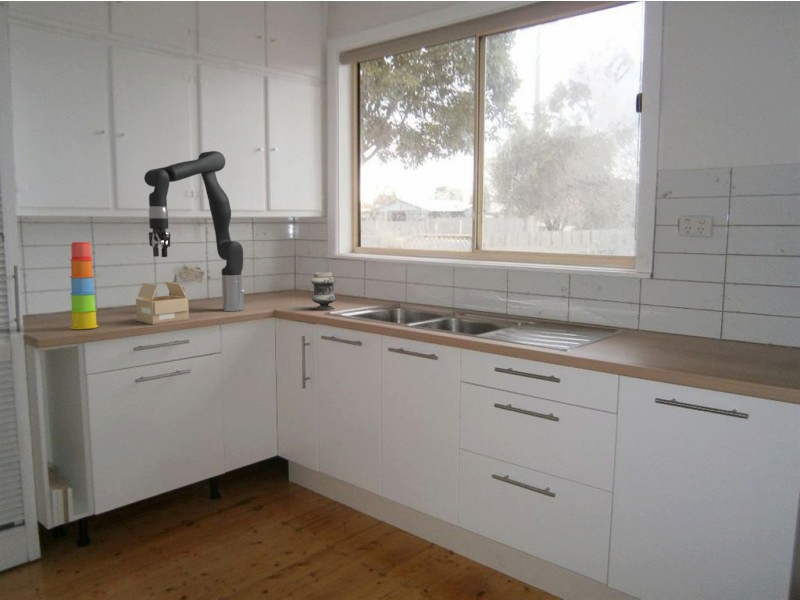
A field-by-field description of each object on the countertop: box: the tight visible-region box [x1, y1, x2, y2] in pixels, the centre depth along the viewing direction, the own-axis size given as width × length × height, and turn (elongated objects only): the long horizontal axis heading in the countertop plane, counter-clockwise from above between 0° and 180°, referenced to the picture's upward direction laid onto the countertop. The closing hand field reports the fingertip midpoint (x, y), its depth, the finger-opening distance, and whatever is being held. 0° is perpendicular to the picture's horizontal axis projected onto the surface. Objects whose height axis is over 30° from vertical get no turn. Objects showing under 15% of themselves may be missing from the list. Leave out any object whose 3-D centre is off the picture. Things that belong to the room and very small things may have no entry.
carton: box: [135, 295, 190, 326], centre depth 276 cm, size 17×15×10 cm
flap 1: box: [137, 283, 159, 299], centre depth 270 cm, size 1×12×6 cm, turn 48°
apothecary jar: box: [310, 271, 337, 311], centre depth 312 cm, size 12×12×18 cm
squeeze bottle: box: [168, 274, 186, 297], centre depth 299 cm, size 8×8×18 cm
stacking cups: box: [69, 241, 99, 330], centre depth 256 cm, size 10×10×35 cm
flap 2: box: [164, 281, 187, 297], centre depth 280 cm, size 1×12×6 cm, turn 49°
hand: (160, 256), depth 273 cm, fingers open, 6 cm apart
